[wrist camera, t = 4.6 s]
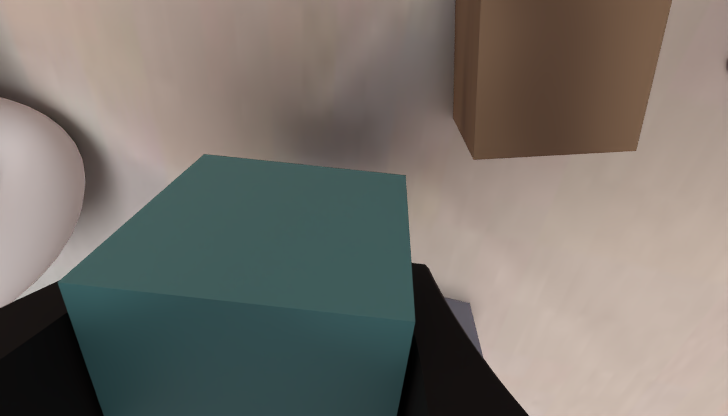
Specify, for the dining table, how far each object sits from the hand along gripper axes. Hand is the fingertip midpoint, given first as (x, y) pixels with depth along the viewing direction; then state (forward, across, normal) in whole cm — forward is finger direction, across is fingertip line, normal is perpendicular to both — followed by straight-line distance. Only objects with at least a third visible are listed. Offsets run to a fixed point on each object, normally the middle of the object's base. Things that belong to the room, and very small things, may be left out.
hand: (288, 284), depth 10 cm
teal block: (+2, 0, 0) cm, 2 cm away
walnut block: (+10, -7, -5) cm, 13 cm away
